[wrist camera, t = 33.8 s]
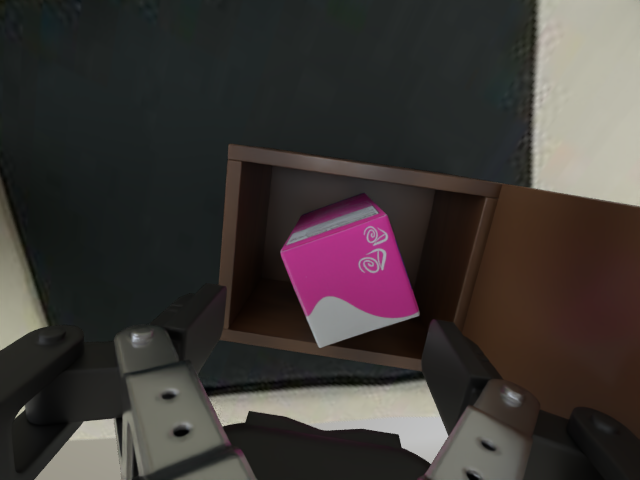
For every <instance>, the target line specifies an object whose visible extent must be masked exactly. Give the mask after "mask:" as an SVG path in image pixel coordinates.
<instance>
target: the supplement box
mask: <svg viewBox="0 0 640 480" xmlns="http://www.w3.org/2000/svg"><path fill="white" fill-rule="evenodd" d="M281 257H282V260H283V262H284V265H285V267H286V270H287V272H288V275H289V277H290V280H291V282H292V285H293V288H294V290H295V292H296V295H297V297H298V300H299V302H300V304H301V307H302V309H303V312H304V314H305V316H306V319H307V321H308V323H309V326H310V328H311V330H312V333H313V336H314V338H315V340H316V343H317V345H318V347H319V348H322V347H324V346H327V345H330V344H333V343H336V342H339V341H342V340H345V339H348V338H351V337H354V336H357V335H360V334H363V333H366V332H369V331H372V330H376V329H379V328H382V327H385V326H389V325H392V324H395V323H398V322H401V321H405V320H408V319H411V318H414V317H417V316H419V315H420V312H419V308H418V305H417V302H416V299H415V296H414V293H413V289H412V287H411V284H410V281H409V278H408V275H407V272H406V269H405V266H404V263H403V260H402V257H401V254H400V251H399V248H398V245H397V242H396V239H395V236H394V233H393V230H392V227H391V224H390V221H389V218H388V215H387V214H386V213H385V212H383V211H382V210H381V209H380V208H379V207H378V206H377V205H376V204H375V203H374V202H373V201H372V200H371V199H370V198H369V197H368V196H367V195H366V194H365V193H362V194H359V195H356V196H353V197H351V198H348V199H345V200H342V201H339V202H336V203H334V204H331V205H328V206H325V207H322V208H320V209H317V210H314V211H311V212H309V213H306V214H303V215H301V217H300V219H299V220H298V222H297V224H296V226H295V227H294V229H293V231H292V232H291V234H290V236H289V238H288V240H287V241H286V243H285V244H284V246H283V248H282V249H281Z"/></svg>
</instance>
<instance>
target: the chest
mask: <svg viewBox="0 0 640 480" xmlns="http://www.w3.org/2000/svg"><path fill="white" fill-rule="evenodd" d="M502 184H503V183H497V182H491V181H485V180H480V179H474V178H468V177H462V176H456V175H450V174H444V173H437V172H430V171H423V170H417V169H410V168H403V167H396V166H389V165H382V164H375V163H368V162H362V161H355V160H348V159H341V158H334V157H327V156H320V155H313V154H306V153H300V152H293V151H286V150H279V149H272V148H264V147H255V146H246V145H236V144H229V147H228V162H227V176H226V190H225V204H224V218H223V232H222V247H221V261H220V275H219V285H221V286H226V288H227V295H226V307H225V318H224V327H223V331H222V335H221V337H220V339H219V340H224V341H230V342H237V343H243V344H250V345H256V346H262V347H269V348H275V349H282V350H288V351H295V352H301V353H308V354H314V355H321V356H327V357H333V358H340V359H346V360H353V361H359V362H366V363H372V364H379V365H385V366H392V367H398V368H404V369H411V370H417V371H422V367H421V360H422V354H423V350H424V346H425V342H426V338H427V334H428V330H429V326H430V323H431V321H432V320H433V319H436V320H443V321H449V322H454V323H455V325H456V326H457V327H458V329H459V330H460V332H461V333H462V331H463V327H464V324H465V320H466V316H467V313H468V309H469V305H470V302H471V298H472V294H473V291H474V287H475V283H476V280H477V276H478V272H479V269H480V265H481V261H482V258H483V254H484V250H485V247H486V243H487V239H488V235H489V232H490V228H491V224H492V221H493V217H494V213H495V210H496V206H497V202H498V199H499V195H500V191H501V188H502ZM362 193H365V194H366V195H367V196H368V197H369V198H370V199H371V200H372V201H373V202H374V203H375V204H376V205H377V206H378V207H379V208H380V209H381V210H382V211H383V212H385V213H386V214H387V215H388V218H389V221H390V224H391V227H392V230H393V233H394V236H395V239H396V242H397V245H398V248H399V251H400V254H401V257H402V260H403V263H404V266H405V269H406V272H407V275H408V278H409V281H410V284H411V287H412V289H413V293H414V296H415V299H416V302H417V305H418V308H419V312H420V315H419V316H417V317H414V318H411V319H408V320H405V321H401V322H398V323H395V324H392V325H389V326H385V327H382V328H379V329H376V330H372V331H369V332H366V333H363V334H360V335H357V336H354V337H351V338H348V339H345V340H342V341H339V342H336V343H333V344H330V345H327V346H324V347H322V348H319V347H318V345H317V343H316V340H315V338H314V336H313V333H312V330H311V328H310V326H309V323H308V321H307V319H306V316H305V314H304V312H303V309H302V307H301V304H300V302H299V300H298V297H297V295H296V292H295V290H294V288H293V285H292V282H291V280H290V277H289V275H288V272H287V270H286V267H285V265H284V262H283V260H282V257H281V249H282V248H283V246H284V244H285V243H286V241H287V240H288V238H289V236H290V234H291V232H292V231H293V229H294V227H295V226H296V224H297V222H298V220H299V219H300V217H301V215H303V214H306V213H309V212H311V211H314V210H317V209H320V208H322V207H325V206H328V205H331V204H334V203H336V202H339V201H342V200H345V199H348V198H351V197H353V196H356V195H359V194H362Z"/></svg>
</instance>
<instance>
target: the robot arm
mask: <svg viewBox="0 0 640 480" xmlns="http://www.w3.org/2000/svg"><path fill="white" fill-rule="evenodd" d="M226 295H227V288H226V286H221V285H215V284H209V283H206V284H205V285H204V286H203V287H202V288H201V289H200V290H199V291H198V292H197V293H196V294H192V293H189V294H187V295H184V296H182V297H179V298H178V299H177V300H175V301H174V302H173V303H172V304H171V306H169V307H168V308H167V309H166V310H165V311H163V312H162V313H161V314H160V315H159V316H158V317H157V318H156V319H154V320H153V321H152V322H151V323H150V324H142V325H135V326H131V327H128V328H125V329H123V330H122V331H120V332H119V333H118V334H117V335H116V336H115V338H114V341H108V342H84V334H83V331H82V329H80V328H78V327H76V326H71V325H55V326H49V327H44V328H40V329H37V330H35V331H32V332H30V333H28V334H26V335H25V336H23V337H22V338H20V339H18V340H17V341H15V342H14V343H12V344H10V345H9V346H7V347H6V348H4V349H2V350H1V351H0V480H34V479H35V478H36V477H37V476H38V474H39V473H40V472H41V471H42V470H43V469H44V468H45V466H46V465H47V464H48V463H49V462H50V461H51V459H52V458H53V457H54V456H55V455H56V454H57V452H58V451H59V450H60V449H61V448H62V446H63V445H64V444H65V443H66V442H67V441H68V440H69V438H70V437H71V436H72V435H73V434H74V433H75V431H76V430H77V429H78V428H79V427H80V426H81V424H82V423H83V421H91V420H102V419H112V418H114V425H115V433H116V440H117V447H118V455H119V462H120V470H121V480H640V440H639V439H638V438H637V437H636V436H635V435H634V434H633V433H632V432H631V431H630V430H629V429H628V428H627V427H626V426H624V425H623V424H622V423H620V422H619V421H617V420H616V419H614V418H612V417H610V416H609V415H607V414H604V413H602V412H600V411H597V410H595V409H591V408H587V407H575V408H574V409H573V411H572V413H571V416H570V418H569V419H566V418H563V417H560V416H557V415H554V414H551V413H549V412H546V411H543V410H541V409H540V403H539V401H538V399H537V398H536V397H535V396H534V395H533V394H532V393H531V392H529V391H528V390H526V389H525V388H523V387H522V386H520V385H518V384H515V383H513V382H510V381H507V380H504V379H503V378H502V376H501V375H500V374H499V373H498V371H497V370H496V369H495V367H494V366H493V365H492V363H490V362H489V359H488V358H487V357H486V355H484V353H483V352H482V350H481V349H480V348H479V346H478V345H477V344H475V343H474V342H473V341H471V340H470V339H469V338H467V337H464V336H463V334H462V333H461V332H460V330H459V329H458V327H457V326H456V325H455V323H454V322H449V321H443V320H436V319H433V320H432V321H431V323H430V326H429V330H428V334H427V338H426V342H425V346H424V350H423V354H422V360H421V367H422V372H423V375H424V377H425V380H426V382H427V384H428V387H429V389H430V392H431V394H432V397H433V399H434V402H435V404H436V406H437V409H438V411H439V414H440V416H441V419H442V421H443V424H444V426H445V428H446V431H447V433H448V436H449V437H448V438H447V440H446V441H445V443H444V445H443V446H442V448H441V449H440V451H439V452H438V454H437V456H436V457H435V459H434V460H433V462H432V464H430V463H429V462H427V461H426V460H424V459H423V458H421V457H419V456H418V455H416V454H414V453H412V452H410V451H408V450H406V449H403V448H402V447H401V443H400V439H399V435H397V434H391V433H384V432H378V431H372V430H366V429H350V430H332V431H324V430H319V429H317V428H314V427H311V426H309V425H306V424H304V423H301V422H298V421H296V420H293V419H290V418H287V417H284V416H277V415H271V414H265V413H258V412H252V411H249V413H248V416H247V419H246V422H245V423H238V424H232V425H227V426H223V427H222V425H221V423H220V421H219V419H218V417H217V414H216V412H215V410H214V408H213V406H212V404H211V402H210V400H209V398H208V396H207V394H206V392H205V390H204V388H203V385H202V383H201V381H200V379H199V377H198V375H197V374H198V373H199V371H200V370H201V368H202V366H203V365H204V363H205V362H206V360H207V359H208V357H209V355H210V354H211V352H212V351H213V349H214V347H215V346H216V344H217V343H218V341H219V339H220V337H221V335H222V331H223V327H224V318H225V307H226ZM24 405H25V410H24V411H23V412H22V413H21V414H20V415H19V416H18V417H17V418H15V417H16V415H17V414H18V412H19V411H20V409H21V408H22V407H23V406H24Z"/></svg>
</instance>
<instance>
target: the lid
mask: <svg viewBox="0 0 640 480" xmlns="http://www.w3.org/2000/svg"><path fill="white" fill-rule="evenodd" d="M462 334H463V336H464V337H467V338H469V339H470V340H471V341H473V342H474V343H475V344H477V345H478V346H479V348H480V349H481V350H482V352H483V353H484V355H486V357H487V358H488V359H489V362H490V363H492V365H493V366H494V367H495V369H496V370H497V371H498V373H499V374H500V375H501V376H502V378H503V379H504V380H507V381H510V382H513V383H515V384H518V385H520V386H522V387H523V388H525V389H526V390H528V391H529V392H531V393H532V394H533V395H534V396H535V397H536V398H537V399H538V401H539V403H540V409H541V410H543V411H546V412H549V413H551V414H554V415H557V416H560V417H563V418H566V419H569V418H570V416H571V413H572V411H573V409H574V408H575V407H587V408H591V409H595V410H597V411H600V412H602V413H604V414H607V415H609V416H610V417H612V418H614V419H616V420H617V421H619V422H620V423H622V424H623V425H624V426H626V427H627V428H628V429H629V430H630V431H631V432H632V433H633V434H634V435H635V436H636V437H637V438H638V439H639V440H640V206H635V205H629V204H623V203H617V202H611V201H605V200H599V199H593V198H587V197H581V196H575V195H569V194H563V193H557V192H551V191H546V190H540V189H534V188H528V187H522V186H516V185H509V184H502V188H501V191H500V195H499V199H498V202H497V206H496V210H495V213H494V217H493V221H492V224H491V228H490V232H489V235H488V239H487V243H486V247H485V250H484V254H483V258H482V261H481V265H480V269H479V272H478V276H477V280H476V283H475V287H474V291H473V294H472V298H471V302H470V305H469V309H468V313H467V316H466V320H465V324H464V327H463V331H462Z"/></svg>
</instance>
